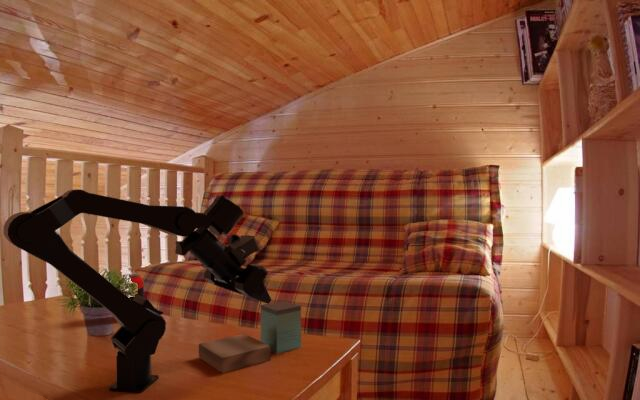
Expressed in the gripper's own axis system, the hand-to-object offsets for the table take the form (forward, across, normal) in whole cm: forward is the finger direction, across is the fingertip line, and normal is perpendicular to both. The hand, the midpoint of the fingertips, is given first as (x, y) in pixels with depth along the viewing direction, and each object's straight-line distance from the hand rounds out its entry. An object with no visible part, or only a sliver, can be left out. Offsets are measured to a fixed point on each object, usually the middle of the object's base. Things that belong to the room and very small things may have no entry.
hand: (258, 297), depth 101 cm
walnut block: (+4, 0, +13) cm, 14 cm away
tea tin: (+13, 0, +4) cm, 13 cm away
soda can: (-1, +47, +18) cm, 51 cm away
